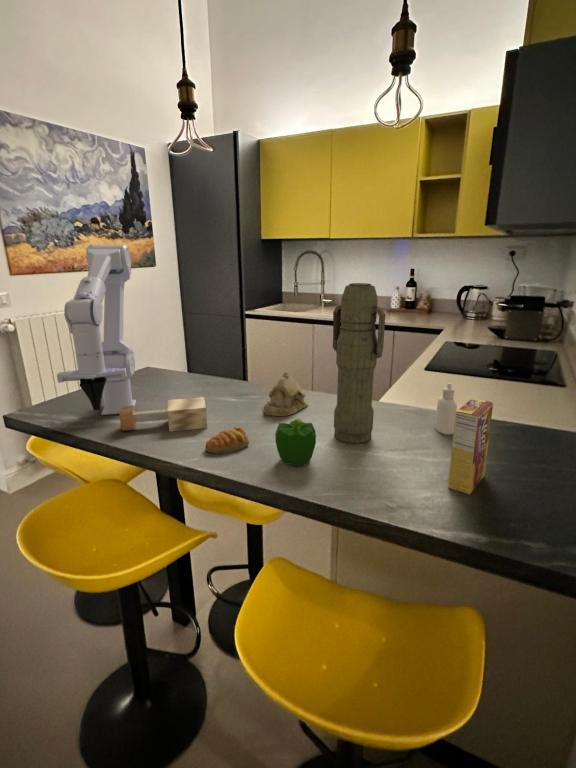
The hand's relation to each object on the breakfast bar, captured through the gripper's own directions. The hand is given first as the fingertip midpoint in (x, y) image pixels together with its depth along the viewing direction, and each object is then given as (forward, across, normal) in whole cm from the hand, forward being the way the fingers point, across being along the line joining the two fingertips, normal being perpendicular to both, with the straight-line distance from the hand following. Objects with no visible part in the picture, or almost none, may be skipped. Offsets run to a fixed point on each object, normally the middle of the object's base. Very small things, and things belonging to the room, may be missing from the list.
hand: (97, 408), depth 101 cm
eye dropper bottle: (+6, +80, -20) cm, 83 cm away
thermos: (+6, +58, -18) cm, 61 cm away
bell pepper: (+6, +42, -26) cm, 49 cm away
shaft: (+5, +13, 0) cm, 14 cm away
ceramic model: (+6, +47, +5) cm, 48 cm away
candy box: (+6, +70, -42) cm, 82 cm away
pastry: (+6, +29, -15) cm, 33 cm away
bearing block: (+6, +20, 0) cm, 21 cm away
